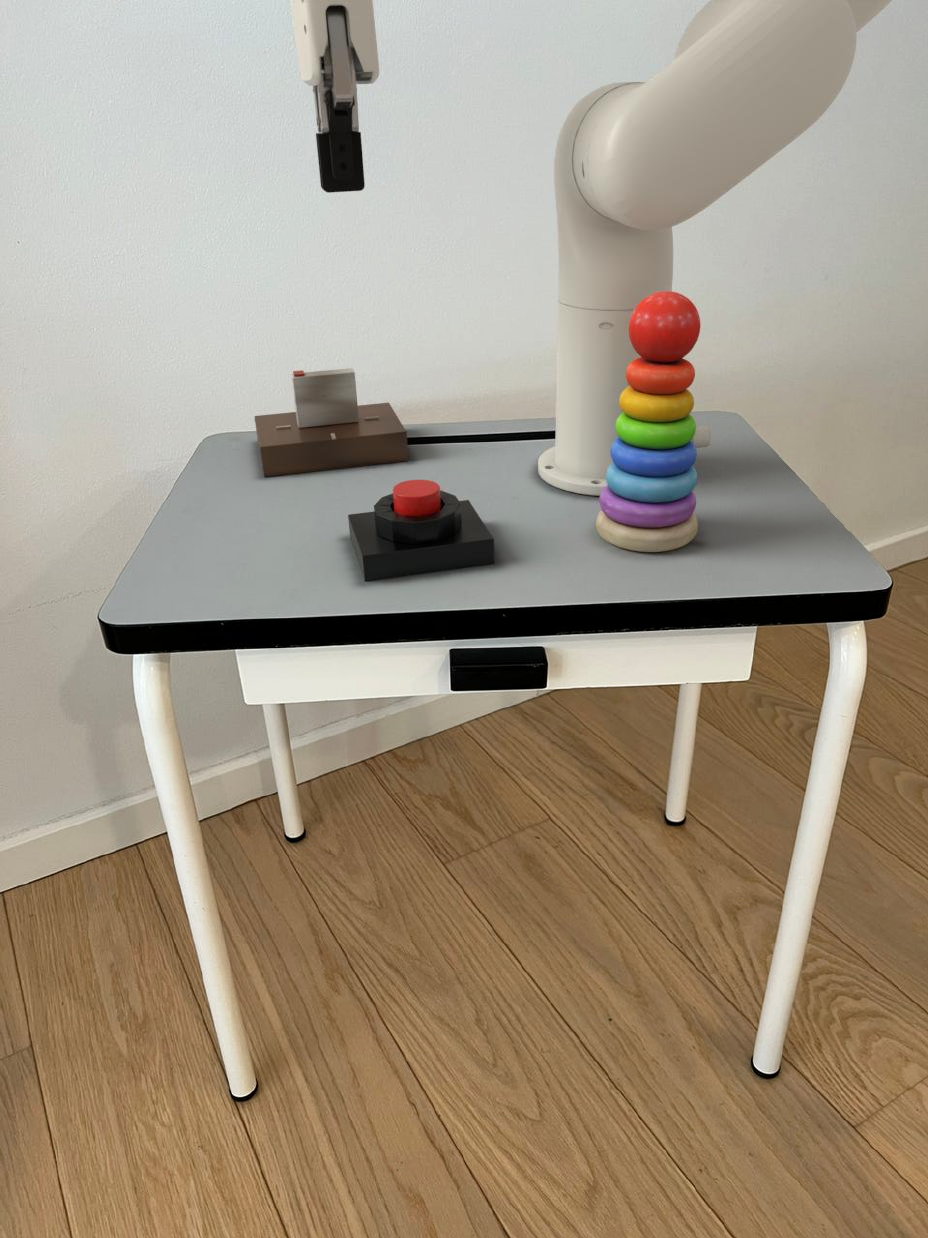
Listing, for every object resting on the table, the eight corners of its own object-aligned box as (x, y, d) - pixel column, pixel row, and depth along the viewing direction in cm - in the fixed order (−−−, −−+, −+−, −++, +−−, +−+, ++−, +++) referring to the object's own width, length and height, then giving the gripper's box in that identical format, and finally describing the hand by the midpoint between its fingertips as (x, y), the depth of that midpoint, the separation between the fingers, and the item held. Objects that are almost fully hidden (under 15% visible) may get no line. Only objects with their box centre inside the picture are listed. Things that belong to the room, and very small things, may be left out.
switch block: (469, 524, 79) (467, 478, 77) (494, 564, 72) (493, 516, 70) (350, 539, 77) (345, 493, 75) (364, 582, 70) (360, 533, 68)
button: (435, 497, 75) (434, 476, 74) (445, 515, 72) (444, 493, 71) (390, 503, 74) (389, 482, 73) (398, 521, 71) (397, 499, 70)
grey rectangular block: (356, 417, 95) (352, 365, 92) (359, 422, 94) (354, 369, 91) (297, 423, 94) (290, 370, 91) (298, 428, 93) (292, 375, 90)
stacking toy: (697, 560, 72) (723, 305, 62) (591, 553, 73) (602, 303, 64) (696, 518, 78) (720, 282, 69) (599, 513, 80) (610, 281, 71)
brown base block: (390, 429, 101) (388, 400, 99) (408, 461, 92) (406, 430, 91) (258, 443, 98) (254, 413, 97) (263, 477, 90) (259, 445, 88)
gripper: (391, -127, 58) (408, 197, 68) (357, -88, 71) (375, 180, 80) (268, -128, 57) (303, 203, 66) (256, -88, 70) (286, 185, 79)
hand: (343, 189), depth 73 cm, fingers closed
